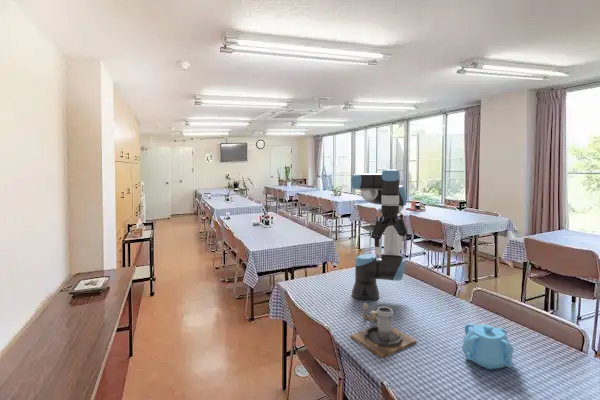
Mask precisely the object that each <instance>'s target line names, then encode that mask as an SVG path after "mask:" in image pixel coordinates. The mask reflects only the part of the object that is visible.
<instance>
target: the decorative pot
mask: <svg viewBox="0 0 600 400" xmlns="http://www.w3.org/2000/svg"><path fill="white" fill-rule="evenodd" d="M464 332H465V336H464V337H463V342H462V351H463V353H464V355H465V356H466V359H467V360H469V361H472V362H473V363H475V364H477V365H478V366H480V367H483V368H484V369H487V370H493V369H495V370H496V369H501V368H504V367H508V368H513V366H514V363H513V352H514V347H513V345H512V344H511V343H510V340H509V339H508V335H507V334H508V333H507V331H506V330H505V329H504V328H502V327H498V328H497V327H494V326H492V325H490V324H478V325H476V324H474V323H467V324H466V325H465V326H464Z"/></svg>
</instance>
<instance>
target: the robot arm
mask: <svg viewBox="0 0 600 400" xmlns="http://www.w3.org/2000/svg"><path fill="white" fill-rule="evenodd" d="M400 179H401V176H400V170H399V169H383V170H382V171H381V173H353V174H351V179H350V181H351V182H350V186H351V188H352V189H353V190H357V191H358V190H359V191H360V196H361V197H362V199H363V200H364V201H366V202H368V203H370V204H373V205H381V207H380V210H381V214H382V216H376V221H375V224H374V227H373V229H372V232H371V235H370V238H371V239H373V240H374V247H375V251H374V253H364V254H360V255H358V256H356V258H355V263H354V265H355V268H354V269H355V272H354V273H355V274H354V276H355V278H354V279H355V280H354V285H353V287H352V290H351V297H353V298H354V299H356V300H360V301H368V302H369V301H376V300H377V299H379V298H380V290H379V288H378V284H377V280H386V281H393V282H395V281H398V282H400V281H402V279H403V277H404V272H405V265H406V259H404V258H403V255H402V254H401V253H400V252H401V251H403V247H404V246H403V245H404V237H406V235H407V234H408V230H407V227H406V224H405V222H404V220H403V219H404V218H403V214H401V213H402V211H403V209H405V208H404V207H405V206H406V205H407V195H406V189H405V186H404V185H401V184H400ZM383 234H384V235H383ZM382 236H384V237H383V238H384V240H383V252H382V239H381V238H382ZM377 255H379V256H380V257H378V256H377Z"/></svg>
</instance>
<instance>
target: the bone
mask: <svg viewBox="0 0 600 400" xmlns="http://www.w3.org/2000/svg"><path fill="white" fill-rule="evenodd" d="M368 308H369V305H368V303H366V302H365V303H364V304H363V312H362V315H363V319H364V320H368V321H371V322H372V324H374V323H375V321H376V320H377V319H378V314H377V310H374V309H373V310H371V311H370V314H369V315H368V314H367V310H368Z"/></svg>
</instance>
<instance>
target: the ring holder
mask: <svg viewBox="0 0 600 400" xmlns="http://www.w3.org/2000/svg"><path fill="white" fill-rule="evenodd" d="M350 338H351V339H352V340H354V341H355V342H357V343H358V344H360V345H362V346H363V347H364V348H366V349H367V350H369V351H371V353H373V354H375V355H376V356H377V357H379V358H381V359H384V358H386V357H387V356H390V355H393V354H395V353H397V352H399V351H401V350H405V349H407V348H409V347H411V346H413V345H415V344H417V343H418V341H417V339H415V338H414V337H411V336H410V335H407V334H406V333H404V332H402V331H400V330H398V329H397V328H395V327H393V326H391V331H390V338H389V339H387V340H384V339H381V338H379V335H378V324H377V325H373V326H369V327H367V328H366V329H364V330H360V331H358V332H355V333H352V334H350Z"/></svg>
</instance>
